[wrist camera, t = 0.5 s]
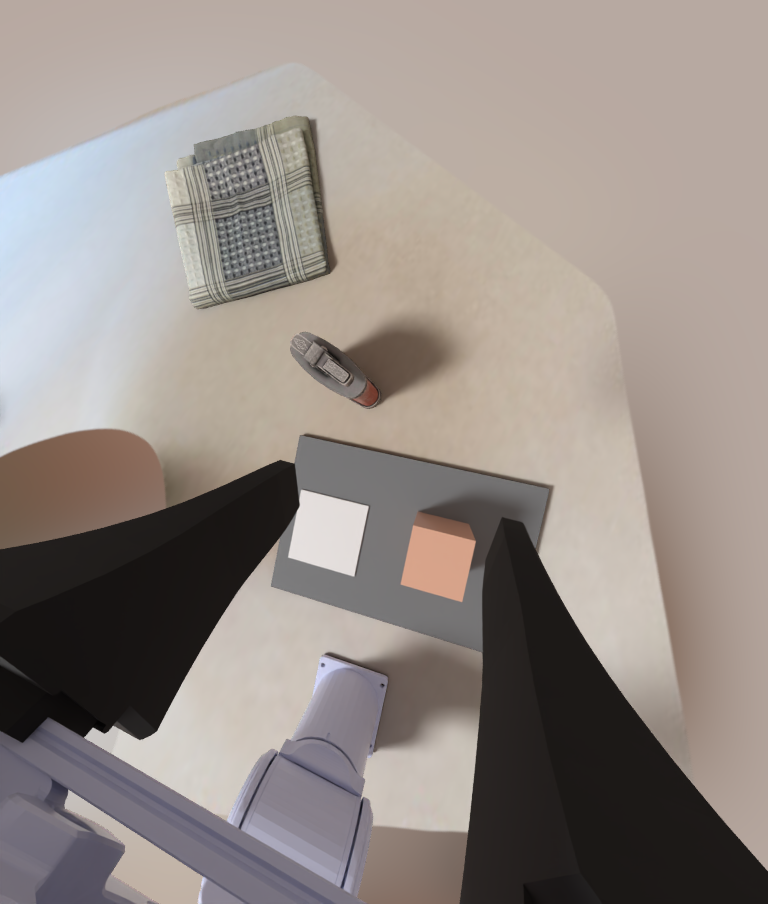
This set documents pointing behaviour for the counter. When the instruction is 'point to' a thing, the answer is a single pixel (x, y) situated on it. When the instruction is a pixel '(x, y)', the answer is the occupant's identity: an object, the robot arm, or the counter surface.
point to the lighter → (334, 369)
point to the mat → (391, 534)
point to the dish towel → (249, 213)
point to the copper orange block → (439, 556)
